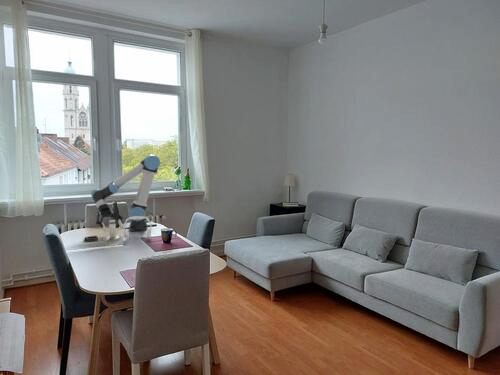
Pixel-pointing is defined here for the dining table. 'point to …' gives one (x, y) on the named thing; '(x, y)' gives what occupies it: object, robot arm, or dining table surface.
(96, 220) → the robot arm
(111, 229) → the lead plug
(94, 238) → the cable board
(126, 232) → the headset
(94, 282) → the dining table surface
